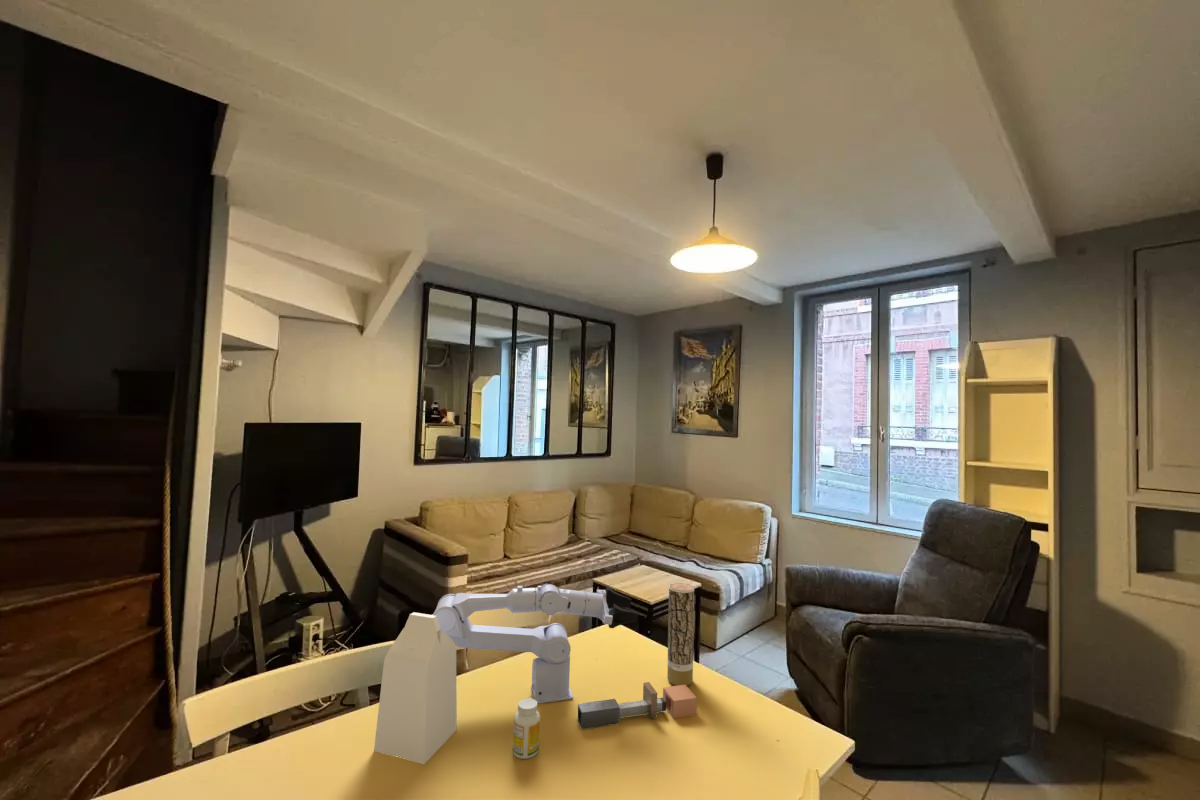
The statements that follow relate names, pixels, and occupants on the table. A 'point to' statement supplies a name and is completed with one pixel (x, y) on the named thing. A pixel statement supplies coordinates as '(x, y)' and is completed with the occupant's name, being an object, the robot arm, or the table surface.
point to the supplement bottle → (526, 729)
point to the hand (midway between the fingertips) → (633, 610)
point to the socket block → (680, 701)
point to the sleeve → (598, 713)
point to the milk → (417, 691)
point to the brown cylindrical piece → (680, 634)
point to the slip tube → (644, 704)
